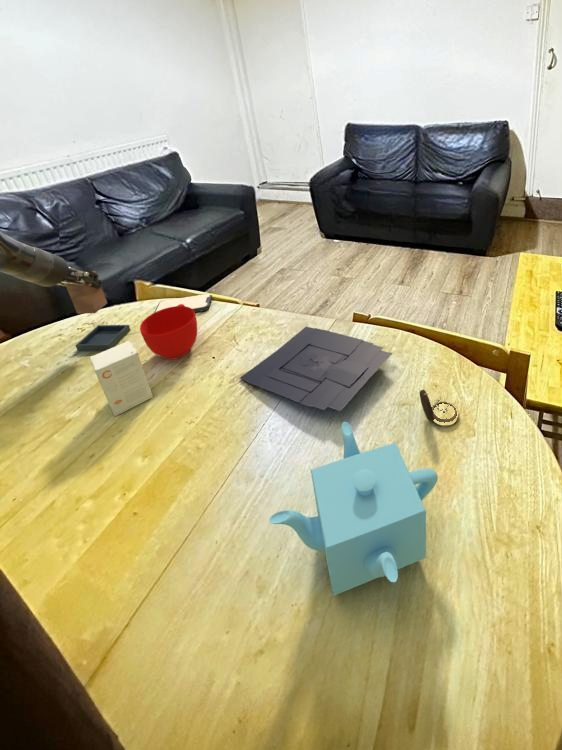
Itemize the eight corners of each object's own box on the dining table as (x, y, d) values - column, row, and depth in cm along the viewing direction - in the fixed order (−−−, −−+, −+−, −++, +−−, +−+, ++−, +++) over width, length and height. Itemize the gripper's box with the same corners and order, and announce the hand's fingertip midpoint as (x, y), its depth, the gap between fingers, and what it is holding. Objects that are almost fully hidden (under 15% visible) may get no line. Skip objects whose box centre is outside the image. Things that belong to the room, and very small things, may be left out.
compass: (464, 423, 85) (465, 396, 82) (427, 432, 83) (427, 405, 80) (448, 395, 92) (449, 369, 89) (415, 403, 90) (414, 377, 87)
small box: (145, 383, 99) (130, 339, 94) (153, 397, 95) (138, 352, 89) (107, 402, 94) (88, 356, 89) (114, 417, 90) (94, 370, 84)
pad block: (77, 313, 109) (63, 280, 105) (90, 303, 113) (77, 271, 109) (95, 313, 109) (82, 280, 105) (107, 303, 113) (95, 271, 109)
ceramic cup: (212, 325, 120) (204, 296, 116) (195, 364, 105) (186, 332, 101) (165, 330, 119) (156, 300, 115) (142, 370, 103) (130, 338, 99)
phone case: (153, 320, 124) (208, 311, 127) (151, 316, 123) (207, 306, 126) (161, 304, 132) (213, 296, 135) (159, 300, 131) (212, 292, 134)
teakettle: (443, 513, 68) (445, 450, 62) (397, 647, 53) (394, 580, 47) (345, 470, 76) (339, 411, 70) (280, 576, 61) (265, 512, 55)
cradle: (77, 351, 111) (75, 345, 111) (100, 330, 120) (98, 325, 119) (110, 350, 111) (108, 345, 110) (130, 330, 119) (128, 324, 119)
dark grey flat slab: (337, 428, 83) (333, 414, 82) (241, 388, 99) (237, 375, 98) (397, 358, 102) (395, 345, 101) (308, 334, 118) (306, 323, 117)
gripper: (71, 250, 96) (119, 271, 111) (12, 251, 96) (68, 272, 112) (62, 281, 93) (112, 298, 109) (1, 282, 94) (60, 299, 109)
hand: (89, 285), depth 110 cm, fingers closed on pad block, 5 cm apart
